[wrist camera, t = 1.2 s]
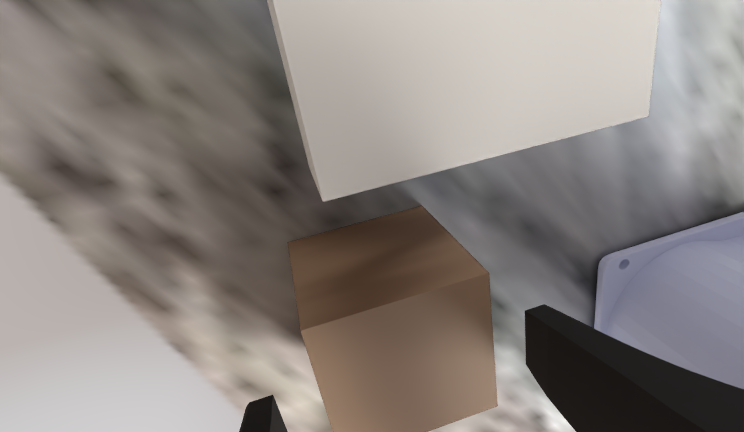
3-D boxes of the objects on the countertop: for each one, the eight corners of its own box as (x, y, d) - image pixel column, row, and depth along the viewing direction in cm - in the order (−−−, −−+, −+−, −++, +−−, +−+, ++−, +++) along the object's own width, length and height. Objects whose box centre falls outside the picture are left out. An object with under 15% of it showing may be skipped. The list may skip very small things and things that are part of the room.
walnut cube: (421, 204, 15) (488, 272, 11) (435, 312, 17) (497, 406, 13) (287, 241, 14) (300, 330, 10) (320, 348, 17) (342, 462, 12)
